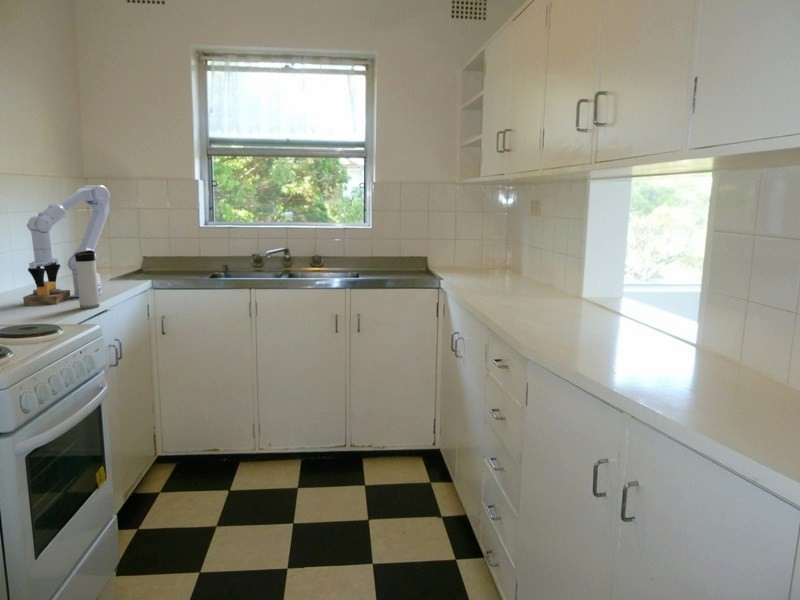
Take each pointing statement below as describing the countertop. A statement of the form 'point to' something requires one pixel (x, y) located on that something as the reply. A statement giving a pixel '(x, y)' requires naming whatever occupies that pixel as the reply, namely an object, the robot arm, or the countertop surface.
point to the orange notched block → (46, 288)
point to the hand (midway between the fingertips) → (46, 285)
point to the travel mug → (87, 279)
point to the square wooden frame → (47, 297)
